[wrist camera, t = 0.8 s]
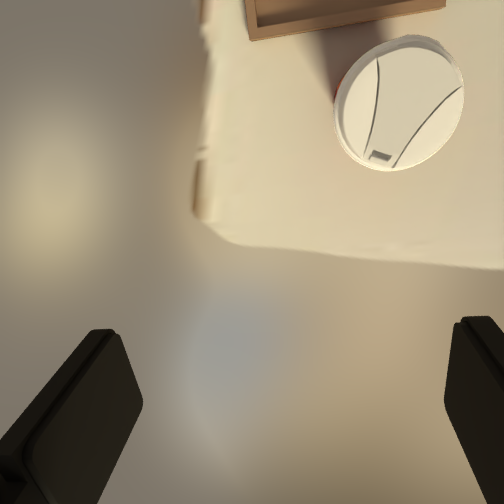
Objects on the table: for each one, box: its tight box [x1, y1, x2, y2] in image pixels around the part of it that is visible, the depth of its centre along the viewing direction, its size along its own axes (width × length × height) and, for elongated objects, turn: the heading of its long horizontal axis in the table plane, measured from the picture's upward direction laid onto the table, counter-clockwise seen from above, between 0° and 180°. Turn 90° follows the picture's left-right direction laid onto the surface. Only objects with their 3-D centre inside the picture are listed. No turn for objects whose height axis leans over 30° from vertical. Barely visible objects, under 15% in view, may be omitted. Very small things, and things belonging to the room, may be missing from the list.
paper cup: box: [333, 35, 464, 171], centre depth 27 cm, size 8×8×14 cm
